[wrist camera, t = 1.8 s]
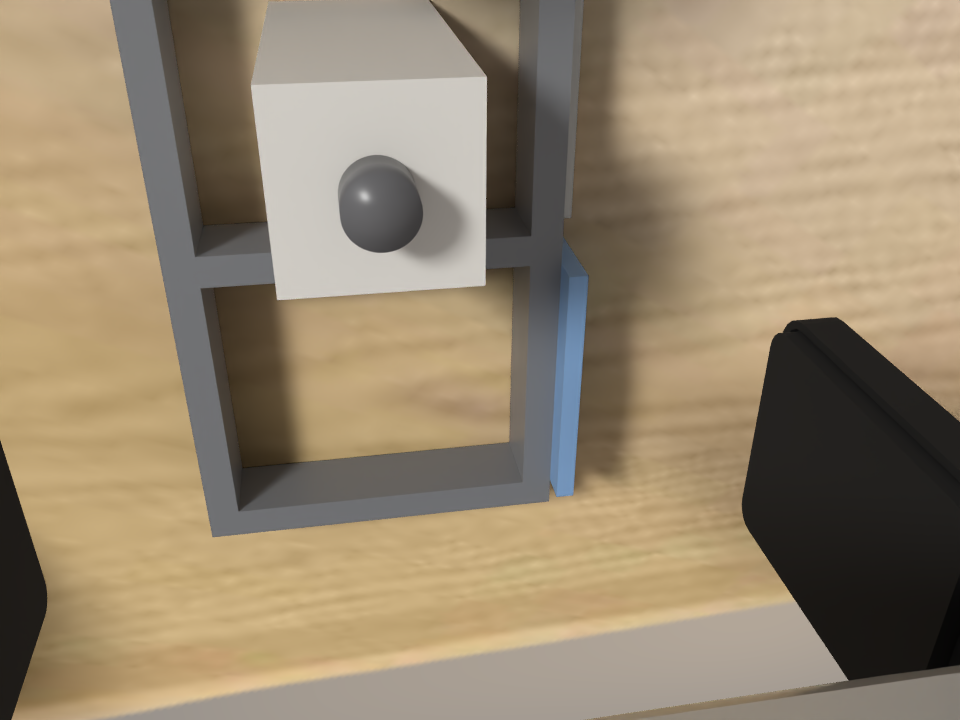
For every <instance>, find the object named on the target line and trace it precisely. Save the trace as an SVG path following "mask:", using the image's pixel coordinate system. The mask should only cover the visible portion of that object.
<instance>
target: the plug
mask: <svg viewBox="0 0 960 720" xmlns="http://www.w3.org/2000/svg"><path fill="white" fill-rule="evenodd" d="M251 91H252V99H253V107H254V115H255V124H256V132H257V140H258V148H259V156H260V164H261V172H262V180H263V189H264V197H265V205H266V213H267V221H268V229H269V237H270V245H271V254H272V262H273V270H274V278H275V286H276V294H277V300H288V299H303V298H317V297H331V296H345V295H359V294H374V293H388V292H402V291H416V290H431V289H445V288H459V287H473V286H485V282H486V139H487V76H486V75H485V73H484V72H483V71H482V69H481V68H480V67H479V66H478V64H477V63H476V62H475V60H474V59H473V58H472V56H471V55H470V54H469V52H468V51H467V50H466V48H465V47H464V46H463V44H462V43H461V42H460V41H459V39H458V38H457V37H456V35H455V34H454V33H453V31H452V30H451V29H450V27H449V26H448V25H447V23H446V22H445V21H444V20H443V18H442V17H441V16H440V14H439V13H438V12H437V10H436V9H435V8H434V6H433V5H432V4H431V2H430V1H429V0H309V1H269V2H268V6H267V11H266V16H265V21H264V25H263V30H262V35H261V39H260V44H259V49H258V53H257V58H256V63H255V68H254V72H253V77H252V82H251Z"/></svg>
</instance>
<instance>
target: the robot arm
mask: <svg viewBox="0 0 960 720" xmlns="http://www.w3.org/2000/svg"><path fill="white" fill-rule="evenodd" d="M742 513H743V518H744V521H745V524H746V526H747V528H748V530H749V532H750V533H751V535H752V536H753V538H754V539H755V541H756V542H757V544H758V545H759V547H760V548H761V550H762V551H763V553H764V554H765V556H766V557H767V559H768V560H769V562H770V563H771V565H772V566H773V568H774V569H775V571H776V572H777V574H778V575H779V577H780V578H781V580H782V581H783V583H784V584H785V586H786V587H787V589H788V590H789V592H790V593H791V595H792V596H793V598H794V599H795V601H796V602H797V604H798V605H799V607H800V608H801V610H802V611H803V613H804V614H805V616H806V617H807V619H808V620H809V622H810V623H811V625H812V626H813V628H814V629H815V631H816V632H817V634H818V635H819V637H820V638H821V640H822V641H823V642H824V644H825V646H826V647H827V648H828V650H829V652H830V653H831V655H832V656H833V657H834V659H835V660H836V662H837V664H838V665H839V667H840V668H841V670H842V671H843V673H844V674H845V676H846V677H847V679H848V680H849V681H843V682H836V683H830V684H823V685H816V686H809V687H802V688H796V689H789V690H782V691H775V692H768V693H762V694H754V695H748V696H741V697H735V698H728V699H720V700H715V701H707V702H700V703H693V704H686V705H680V706H673V707H666V708H659V709H653V710H646V711H640V712H633V713H626V714H620V715H613V716H607V717H600V718H594V719H587V720H960V422H959V421H958V420H957V419H956V418H955V417H953V416H952V415H951V414H950V413H949V412H948V411H946V410H945V409H944V408H943V407H942V406H941V405H940V404H938V403H937V402H936V401H935V400H934V399H933V398H931V397H930V396H929V395H928V394H927V393H926V392H924V391H923V390H922V389H921V388H920V387H919V386H917V385H916V384H915V383H914V382H913V381H912V380H910V379H909V378H908V377H907V376H906V375H905V374H904V373H902V372H901V371H900V370H899V369H898V368H897V367H895V366H894V365H893V364H892V363H891V362H890V361H888V360H887V359H886V358H885V357H884V356H883V355H881V354H880V353H879V352H878V351H877V350H876V349H875V348H873V347H872V346H871V345H870V344H869V343H868V342H866V341H865V340H864V339H863V338H862V337H861V336H859V335H858V334H857V333H856V332H855V331H854V330H852V329H851V328H850V327H849V326H848V325H847V324H845V323H844V322H843V321H842V320H840V319H838V318H837V317H835V318H820V319H808V320H796V321H791V322H790V323H788V324H787V326H786V327H785V329H784V331H783V333H778V334H777V335H775V336H774V338H773V340H772V343H771V346H770V352H769V357H768V363H767V368H766V374H765V379H764V384H763V390H762V395H761V401H760V406H759V412H758V417H757V422H756V428H755V433H754V439H753V444H752V449H751V455H750V460H749V466H748V471H747V477H746V482H745V487H744V493H743V498H742ZM46 608H47V589H46V584H45V580H44V576H43V573H42V570H41V567H40V564H39V561H38V558H37V554H36V551H35V548H34V545H33V542H32V539H31V536H30V532H29V529H28V526H27V523H26V520H25V517H24V514H23V510H22V507H21V504H20V501H19V498H18V495H17V492H16V488H15V485H14V482H13V479H12V476H11V473H10V470H9V466H8V463H7V460H6V457H5V454H4V451H3V448H2V444H1V441H0V720H11V719H12V716H13V713H14V710H15V707H16V704H17V701H18V697H19V694H20V691H21V688H22V685H23V682H24V679H25V676H26V673H27V670H28V667H29V664H30V661H31V658H32V654H33V651H34V648H35V645H36V642H37V639H38V636H39V633H40V630H41V627H42V624H43V621H44V618H45V614H46Z"/></svg>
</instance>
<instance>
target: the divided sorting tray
mask: <svg viewBox="0 0 960 720" xmlns="http://www.w3.org/2000/svg"><path fill="white" fill-rule="evenodd" d="M110 5H111V10H112V15H113V20H114V25H115V31H116V36H117V41H118V46H119V51H120V57H121V62H122V67H123V72H124V78H125V83H126V88H127V93H128V98H129V104H130V109H131V114H132V119H133V124H134V130H135V135H136V140H137V145H138V151H139V156H140V161H141V166H142V171H143V177H144V182H145V187H146V192H147V197H148V203H149V208H150V213H151V218H152V224H153V229H154V234H155V239H156V244H157V250H158V255H159V260H160V265H161V270H162V276H163V281H164V286H165V291H166V297H167V302H168V307H169V312H170V317H171V323H172V328H173V333H174V338H175V343H176V349H177V354H178V359H179V364H180V370H181V375H182V380H183V385H184V390H185V396H186V401H187V406H188V411H189V416H190V422H191V427H192V432H193V437H194V443H195V448H196V453H197V458H198V463H199V469H200V474H201V479H202V484H203V489H204V495H205V500H206V505H207V510H208V516H209V521H210V526H211V531H212V536H213V537H220V536H229V535H238V534H248V533H257V532H266V531H276V530H285V529H294V528H304V527H313V526H323V525H332V524H341V523H351V522H360V521H369V520H379V519H388V518H397V517H407V516H416V515H425V514H435V513H444V512H453V511H463V510H472V509H481V508H491V507H500V506H509V505H519V504H528V503H537V502H547V501H549V489H550V481H551V484H552V486H553V489H554V491H555V494H556V497H560V496H570V495H573V490H574V476H575V462H576V448H577V434H578V419H579V405H580V391H581V377H582V363H583V348H584V334H585V320H586V306H587V292H588V277H589V276H588V274H587V273H586V271H585V270H584V268H583V267H582V265H581V263H580V262H579V260H578V259H577V257H576V256H575V254H574V253H573V251H572V250H571V248H570V246H569V245H568V243H567V242H566V240H565V239H564V237H563V227H564V218H571V214H572V197H573V180H574V162H575V145H576V128H577V110H578V93H579V76H580V59H581V41H582V24H583V7H584V0H520V26H519V67H518V108H517V150H516V191H515V208H498V209H486V269H495V268H509V267H514V273H513V315H512V356H511V397H510V438H509V443H499V444H488V445H478V446H468V447H457V448H447V449H437V450H426V451H416V452H406V453H395V454H385V455H374V456H364V457H354V458H343V459H333V460H323V461H312V462H302V463H292V464H281V465H271V466H261V467H250V468H242V462H241V456H240V449H239V443H238V437H237V431H236V425H235V418H234V412H233V406H232V400H231V394H230V388H229V381H228V375H227V369H226V363H225V357H224V350H223V344H222V338H221V332H220V326H219V320H218V313H217V307H216V301H215V295H214V289H213V288H214V287H228V286H243V285H258V284H273V283H275V278H274V270H273V262H272V254H271V245H270V237H269V229H268V222H256V223H238V224H221V225H204V226H203V221H202V214H201V208H200V202H199V196H198V190H197V183H196V177H195V171H194V165H193V159H192V152H191V146H190V140H189V134H188V128H187V122H186V115H185V109H184V103H183V97H182V91H181V84H180V78H179V72H178V66H177V60H176V54H175V47H174V41H173V35H172V29H171V23H170V16H169V10H168V4H167V0H110Z"/></svg>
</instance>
